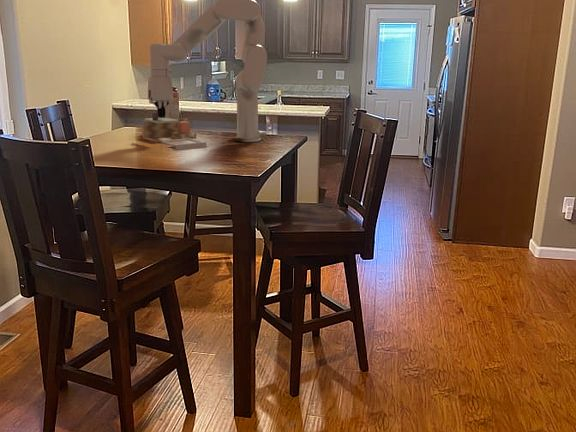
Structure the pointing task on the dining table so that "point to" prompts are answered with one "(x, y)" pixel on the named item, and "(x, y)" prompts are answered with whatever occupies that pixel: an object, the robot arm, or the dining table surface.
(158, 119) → the lid
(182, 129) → the block
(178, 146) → the tray
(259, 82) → the robot arm
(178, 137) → the small wooden cabinet
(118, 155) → the dining table surface
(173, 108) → the cracker box
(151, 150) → the dining table surface
